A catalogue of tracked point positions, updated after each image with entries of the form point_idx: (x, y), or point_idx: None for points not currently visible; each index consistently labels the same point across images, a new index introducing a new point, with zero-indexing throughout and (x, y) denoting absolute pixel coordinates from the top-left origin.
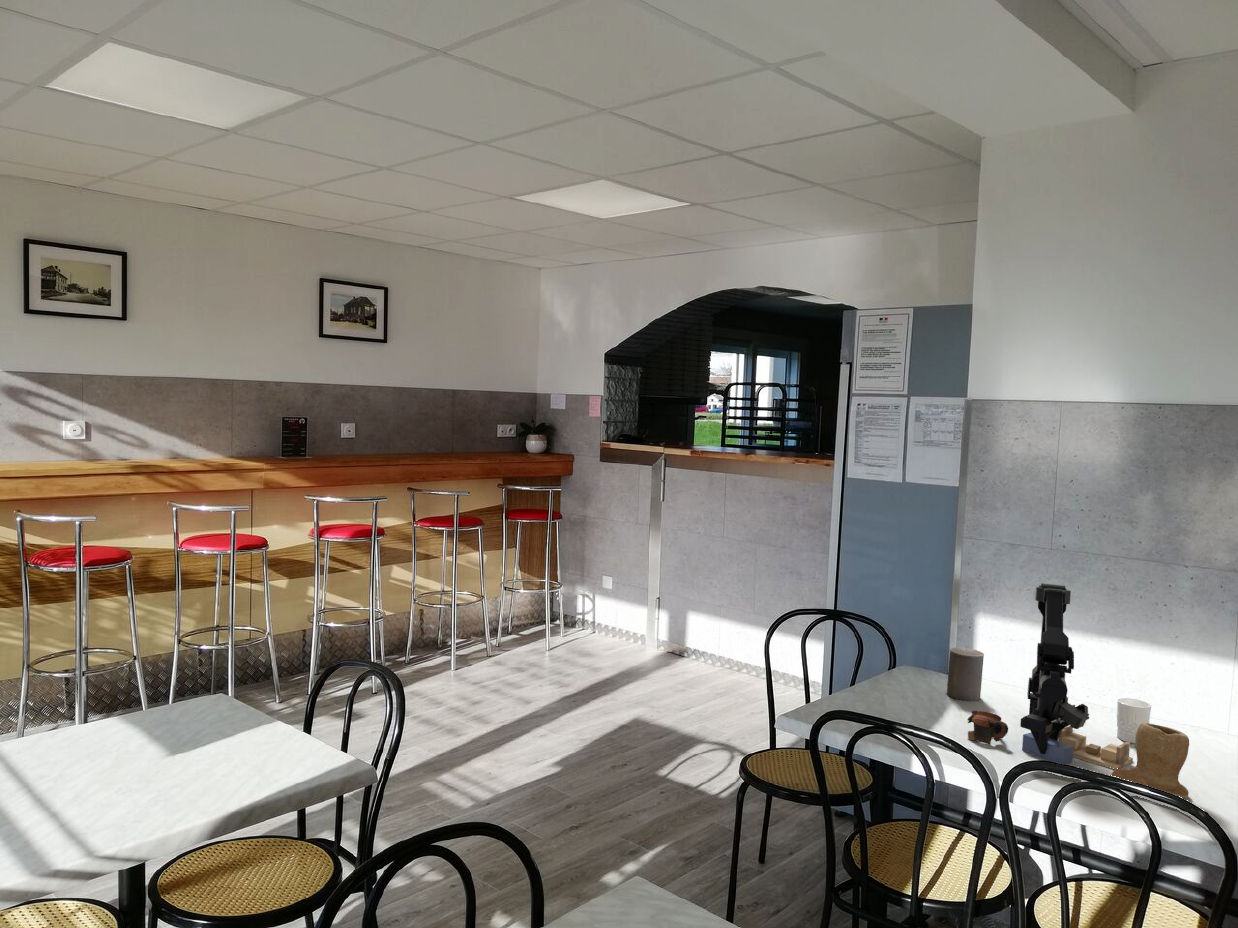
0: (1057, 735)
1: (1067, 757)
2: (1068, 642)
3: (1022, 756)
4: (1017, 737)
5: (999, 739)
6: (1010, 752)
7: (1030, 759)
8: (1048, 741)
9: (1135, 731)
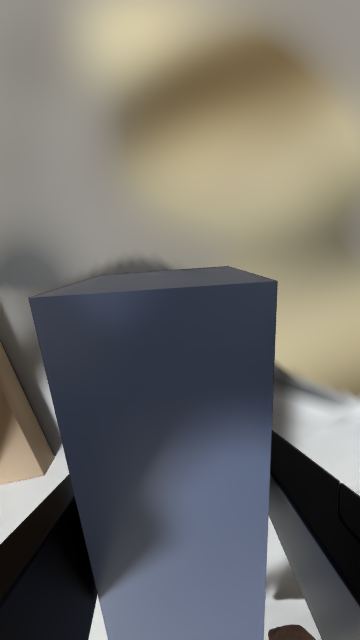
0: (16, 583)
1: (163, 274)
2: None
3: (334, 460)
4: (94, 625)
5: (287, 637)
6: None
7: (338, 414)
8: (201, 514)
9: None
